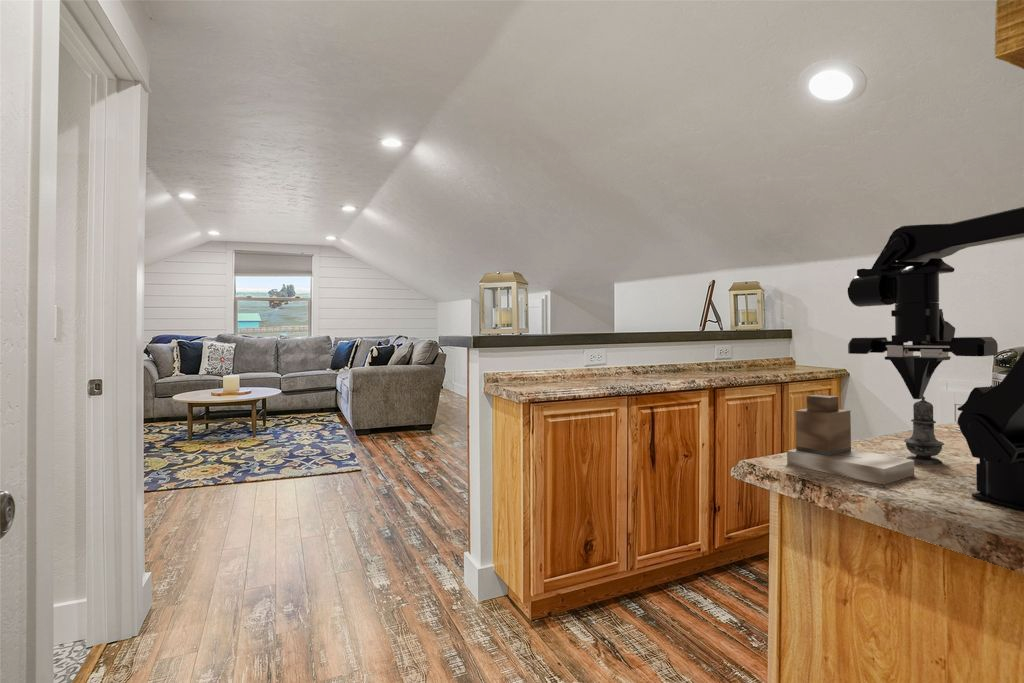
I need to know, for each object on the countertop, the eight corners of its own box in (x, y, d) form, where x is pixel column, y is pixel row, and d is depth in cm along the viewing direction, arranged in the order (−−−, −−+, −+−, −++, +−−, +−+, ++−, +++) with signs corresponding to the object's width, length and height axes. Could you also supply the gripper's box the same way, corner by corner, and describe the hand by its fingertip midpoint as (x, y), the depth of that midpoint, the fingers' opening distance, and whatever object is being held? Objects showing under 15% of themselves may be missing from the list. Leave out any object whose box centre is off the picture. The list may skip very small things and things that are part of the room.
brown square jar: (851, 451, 95) (850, 396, 95) (829, 456, 91) (828, 399, 91) (817, 445, 100) (816, 393, 100) (796, 450, 97) (795, 396, 96)
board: (914, 474, 88) (914, 459, 88) (884, 484, 83) (884, 468, 83) (818, 456, 102) (817, 443, 102) (787, 464, 97) (787, 450, 97)
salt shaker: (945, 466, 93) (944, 398, 93) (903, 462, 96) (903, 397, 96) (943, 459, 97) (942, 395, 97) (904, 455, 101) (903, 393, 101)
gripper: (1011, 300, 82) (1011, 400, 82) (878, 307, 98) (878, 390, 98) (982, 299, 76) (982, 407, 76) (845, 306, 92) (846, 395, 92)
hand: (917, 399), depth 86 cm, fingers closed
